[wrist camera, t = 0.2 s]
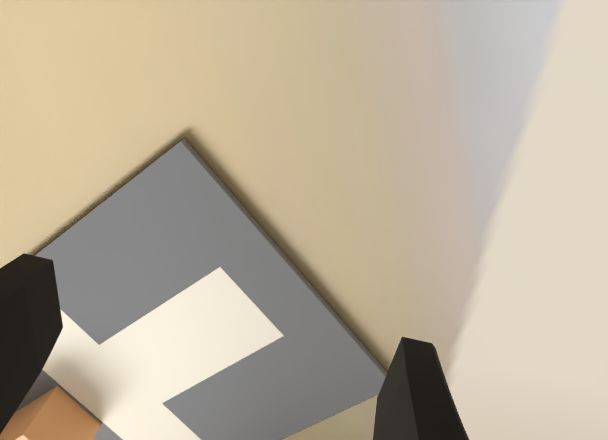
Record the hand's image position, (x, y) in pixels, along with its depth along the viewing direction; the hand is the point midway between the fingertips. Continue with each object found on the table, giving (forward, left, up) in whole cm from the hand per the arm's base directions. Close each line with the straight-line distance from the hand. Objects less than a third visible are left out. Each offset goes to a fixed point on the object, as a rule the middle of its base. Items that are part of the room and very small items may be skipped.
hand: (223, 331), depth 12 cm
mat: (-18, -4, -10) cm, 22 cm away
